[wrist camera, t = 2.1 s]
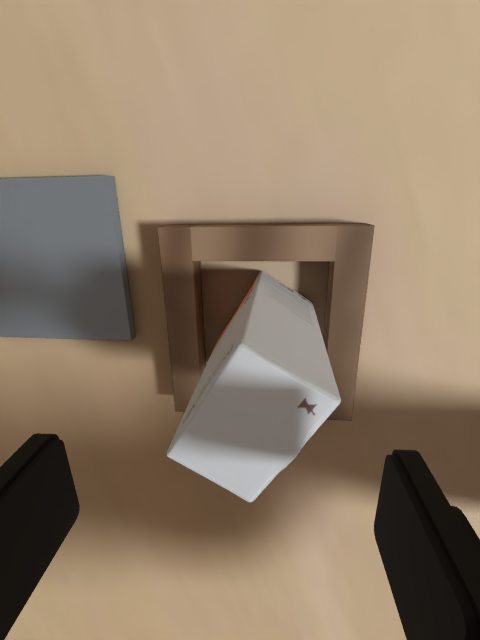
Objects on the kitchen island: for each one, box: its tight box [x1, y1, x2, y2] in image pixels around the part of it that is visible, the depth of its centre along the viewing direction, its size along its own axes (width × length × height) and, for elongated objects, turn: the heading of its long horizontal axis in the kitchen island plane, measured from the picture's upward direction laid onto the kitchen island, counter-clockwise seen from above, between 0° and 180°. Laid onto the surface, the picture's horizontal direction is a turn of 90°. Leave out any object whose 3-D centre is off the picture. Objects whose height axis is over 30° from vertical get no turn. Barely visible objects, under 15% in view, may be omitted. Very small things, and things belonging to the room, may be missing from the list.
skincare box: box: [166, 271, 341, 502], centre depth 17 cm, size 6×4×12 cm
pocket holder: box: [158, 223, 374, 421], centre depth 22 cm, size 12×13×2 cm
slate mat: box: [0, 176, 136, 341], centre depth 23 cm, size 11×11×1 cm
